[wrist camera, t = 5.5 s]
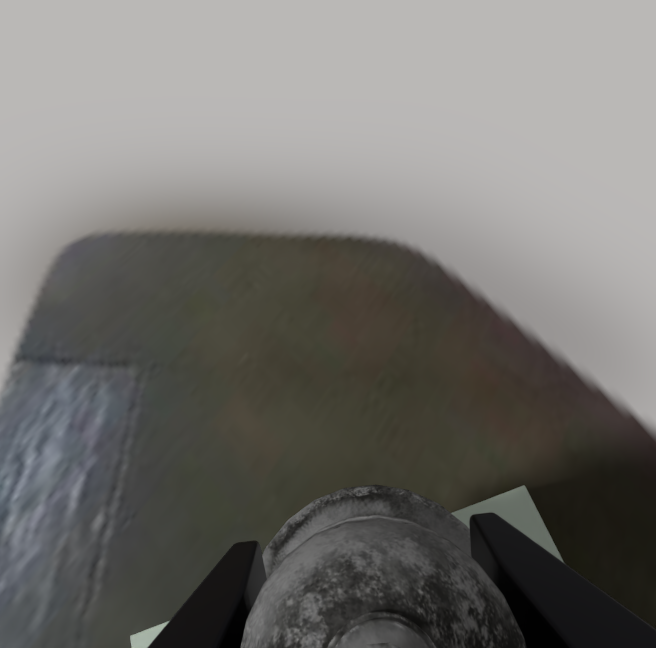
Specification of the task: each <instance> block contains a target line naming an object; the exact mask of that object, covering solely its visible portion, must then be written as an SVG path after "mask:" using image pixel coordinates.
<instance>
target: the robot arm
mask: <svg viewBox="0 0 656 648" xmlns="http://www.w3.org/2000/svg"><path fill="white" fill-rule="evenodd" d="M469 525H470V543H471V557H472V558H473V559H474V560H475V561H476V562H478V564H479V565H480V566H481V567H482V569H483V570H484V571H485V572H486V574H487V575H488V576H489V577H490V579H491V580H492V581H493V582H494V584H495V585H496V586H497V587H498V589H499V590H500V591H501V592H502V594H503V595H504V597H505V599H506V601H507V603H508V605H509V607H510V609H511V611H512V614H513V616H514V618H515V620H516V622H517V624H518V626H519V628H520V630H521V632H522V634H523V637H524V639H525V643H526V648H656V629H655V628H653V627H652V626H651V625H649V624H648V623H646V622H645V621H644V620H642V619H641V618H640V617H638V616H637V615H635V614H634V613H633V612H631V611H630V610H628V609H627V608H626V607H624V606H623V605H622V604H620V603H619V602H617V601H616V600H615V599H613V598H612V597H610V596H609V595H608V594H606V593H605V592H604V591H602V590H601V589H599V588H598V587H597V586H595V585H594V584H592V583H591V582H590V581H588V580H587V579H586V578H584V577H583V576H581V575H580V574H579V573H577V572H576V571H575V570H573V569H572V568H570V567H569V566H568V565H566V564H565V563H563V562H562V561H561V560H559V559H558V558H557V557H555V556H554V555H552V554H551V553H550V552H548V551H547V550H545V549H544V548H543V547H541V546H540V545H539V544H537V543H536V542H534V541H533V540H532V539H530V538H529V537H528V536H526V535H525V534H523V533H522V532H521V531H519V530H518V529H516V528H515V527H514V526H512V525H511V524H510V523H508V522H507V521H505V520H504V519H503V518H501V517H500V516H498V515H497V514H495V513H493V512H489V513H481V514H473V515H472V516H471V517H470V520H469ZM266 580H267V577H266V572H265V567H264V562H263V557H262V552H261V547H260V544H259V543H258V542H257V541H247V542H238V543H235V544H234V545H233V546H232V547H231V548H230V549H229V551H228V552H227V553H226V554H225V555H224V556H223V558H222V559H221V560H220V561H219V562H218V564H217V565H216V566H215V567H214V568H213V570H212V571H211V572H210V573H209V574H208V576H207V577H206V578H205V579H204V580H203V582H202V583H201V584H200V585H199V586H198V588H197V589H196V590H195V591H194V592H193V594H192V595H191V596H190V597H189V598H188V600H187V601H186V602H185V603H184V604H183V606H182V607H181V608H180V609H179V610H178V611H177V613H176V614H175V615H174V616H173V617H172V619H171V620H170V621H169V622H168V623H167V625H166V626H165V627H164V628H163V629H162V631H161V632H160V633H159V634H158V635H157V637H156V638H155V639H154V640H153V641H152V643H151V644H150V645H149V646H148V647H147V648H241V643H242V638H243V634H244V629H245V625H246V620H247V618H248V616H249V614H250V611H251V609H252V607H253V605H254V603H255V601H256V599H257V596H258V594H259V592H260V590H261V588H262V586H263V584H264V583H265V581H266Z"/></svg>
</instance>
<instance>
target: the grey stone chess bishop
mask: <svg viewBox="0 0 656 648" xmlns="http://www.w3.org/2000/svg"><path fill="white" fill-rule="evenodd" d="M262 557H263V562H264V567H265V572H266V577H267V580H266V581H265V583H264V584H263V586H262V588H261V590H260V592H259V594H258V596H257V599H256V601H255V603H254V605H253V607H252V609H251V611H250V614H249V616H248V618H247V620H246V625H245V629H244V634H243V638H242V643H241V648H526V643H525V639H524V637H523V634H522V632H521V630H520V628H519V626H518V624H517V622H516V620H515V618H514V616H513V614H512V611H511V609H510V607H509V605H508V603H507V601H506V599H505V597H504V595H503V594H502V592H501V591H500V590H499V589H498V587H497V586H496V585H495V584H494V582H493V581H492V580H491V579H490V577H489V576H488V575H487V574H486V572H485V571H484V570H483V569H482V567H481V566H480V565H479V564H478V562H476V561H475V560H474V559H473V558H472V557H471V543H470V529H469V528H468V526H466V525H465V524H464V523H463V522H461V521H460V520H459V519H458V518H456V517H455V516H454V515H453V514H451V513H450V512H449V511H447V510H446V509H445V508H444V507H442V506H441V505H440V504H438V503H436V502H434V501H431V500H429V499H427V498H425V497H423V496H420V495H418V494H416V493H414V492H411V491H409V490H405V489H399V488H393V487H387V486H380V485H369V486H360V487H351V488H344V489H341V490H339V491H336V492H334V493H331V494H329V495H326V496H323V497H321V498H318V499H316V500H314V501H313V502H311V503H310V504H309V505H307V506H306V507H305V508H303V509H302V510H301V511H299V512H298V513H297V514H295V515H294V516H293V517H291V518H290V519H289V520H288V521H287V522H286V523H285V524H284V525H283V527H282V528H281V529H280V530H279V532H278V533H277V534H276V535H275V537H274V538H273V539H272V540H271V542H270V543H269V544H268V545H267V547H266V548H265V550H264V553H263V555H262Z"/></svg>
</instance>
